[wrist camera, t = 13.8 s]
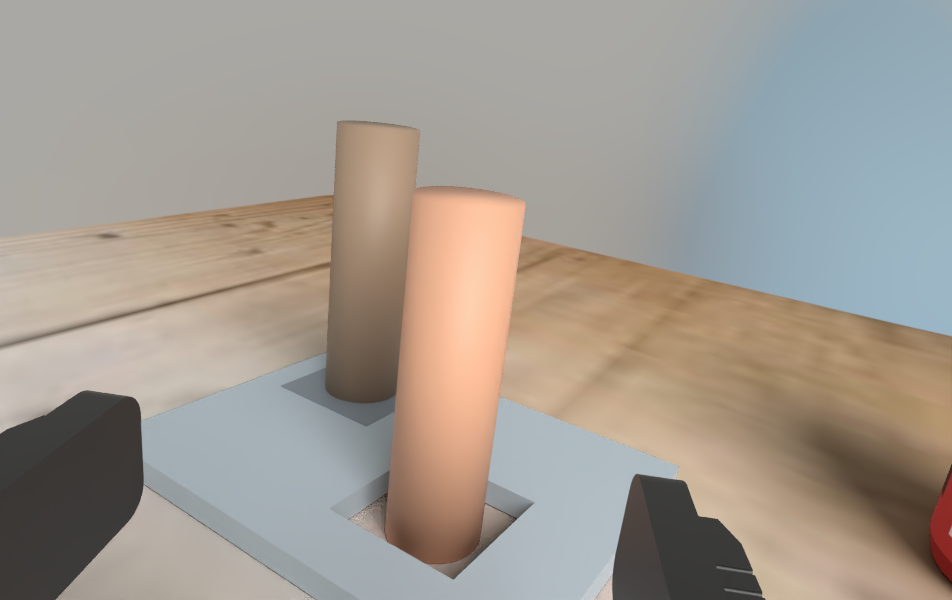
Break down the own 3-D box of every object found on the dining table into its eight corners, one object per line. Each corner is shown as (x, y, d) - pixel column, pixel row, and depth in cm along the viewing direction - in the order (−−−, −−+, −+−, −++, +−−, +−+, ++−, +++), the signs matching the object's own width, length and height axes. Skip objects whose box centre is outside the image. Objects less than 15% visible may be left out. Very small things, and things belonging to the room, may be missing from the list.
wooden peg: (364, 533, 24) (389, 190, 20) (424, 490, 26) (455, 183, 23) (443, 578, 22) (486, 214, 18) (498, 528, 25) (545, 202, 21)
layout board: (105, 458, 26) (80, 108, 22) (356, 357, 37) (370, 115, 33) (504, 725, 17) (588, 223, 13) (674, 487, 29) (747, 179, 24)
